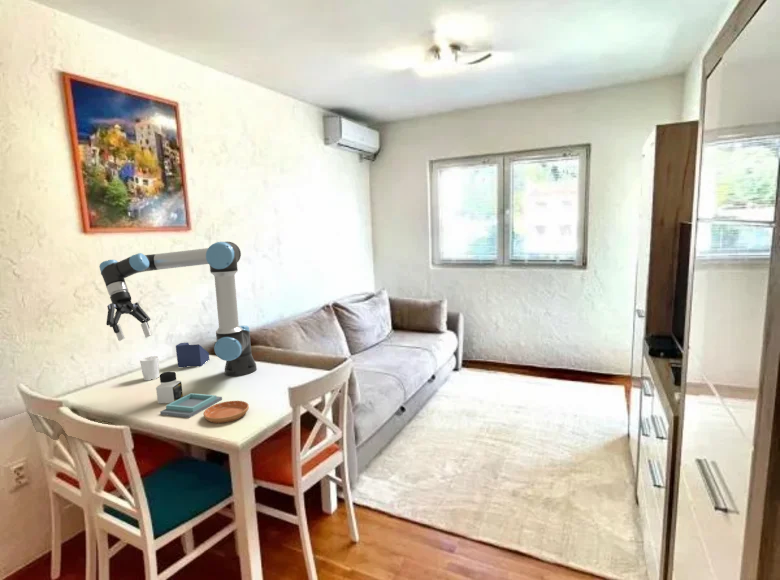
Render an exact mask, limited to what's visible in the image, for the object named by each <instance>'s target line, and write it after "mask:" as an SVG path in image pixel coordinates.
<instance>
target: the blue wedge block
mask: <svg viewBox="0 0 780 580" xmlns="http://www.w3.org/2000/svg"><path fill="white" fill-rule="evenodd" d="M175 351H176V353H175V354H176V359H177V360H176V361H177V368H178V367H183V368H188V367H187V366H199V367H202V366H204V365H205V364H206V363H207V362H209V361H210V353H209V352H208V351H207V350H206V349H205V348H204V347H203V346H202V345H200V344H190V343H189V342H179V343H177V344H176V345H175ZM208 360H209V361H208ZM206 361H207V362H206ZM205 362H206V363H205ZM204 363H205V364H204ZM203 364H204V365H203Z"/></svg>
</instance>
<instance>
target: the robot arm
mask: <svg viewBox="0 0 780 580" xmlns="http://www.w3.org/2000/svg"><path fill="white" fill-rule="evenodd" d="M241 257H242V252H241V249H240V248H239V246H238V245H237V244H236V243H234V242H233V241H216V242H214V243H212V244H211V245H209V247H207V248H206V247H205V248H198V249H197V248H196V249H188V250H181V251H170V252H164V253H156V254H143V253H141V252H138V253H135V254H133V255H130V256H128V257H127V258H126V257H125V258H124V259H122V260H119V261H118V260H116V259H108V260H104V261H102V262H101V263H100V264H99V270H100V275H101V277H102V279H103V282H104V284H105V288H106V289H107V293H108V295H109V296H110V297H109V299H110V301H111V303H109V304H108V305H107V317H106V323H105V324H106V326H109V327H110V328H112V329H113V330H112V331H113V333H114V334H116V337H117V340H118V341H119V342H121V341H122V340H124V339H125V335H124V332H123V329H122V327H121V325H120V323H119V321H120V319H121V317H122V315H124V314H127V315H131V316H132V317H133V318H135V319H136V320H137V321H139V322H140V323H141V324H140V327H141V329H142V331H143V334H144V337H145V338H149V337H151V336H152V333H151V331H150V326H149V323H148V322H149V321H151V317H149V315H148V313H146V311H145V310H144V309H143V308H142V307H141V305H140V303H139V302H137V301H136V302H135V303H133V302H132V296H131V294H130V292H129V288H128V285H127V283H126V281H125V280H126V278H129V277H131V276H133V275H136V274H138V273H144V272H151V271H158V270H166V269H167V270H168V269H176V268H177V269H178V268H184V267H194V266H201V265H203V266H204V265H209V271H210V272H209V273H210V274H212V275H213V277H214V285H215V287H214V288H215V298H216V307H217V308H216V309H217V320H218V321H217V322H218V328H217V330H216V331H215V335H216V336H215V337H216V340H215V341H216V342H215V344H214V346H213V349H214V353H215V355H216V356H217V357H218V358H219V359H220V360H222V361H225V366H224V374H225V375H226V376H231V377H233V376H234V377H237V376H245V375H248V374H251V373H254V372H255V371H257V369H258V368H257V363H256V361H255V359H254V356H253V355H252V345H251V344H252V343H251V331H250V327H249V326H248V325H240V324H239V313H238V302H237V301H238V300H237V289H236V278H235V275H236V273H238V269H239V268H238V263H239V261H240V260H241ZM115 310H116V311H115Z"/></svg>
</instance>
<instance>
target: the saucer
mask: <svg viewBox="0 0 780 580" xmlns="http://www.w3.org/2000/svg"><path fill="white" fill-rule="evenodd" d="M248 410H249V404H248V402H246V401H243V400H228V401H222V402H219V403H215V404H213V405H212V406H210V407H208V408H206V409H204V410H203V413H202V414H203V417H204V419H205V420H207V421H208V422H210V423H213V424H226V423H231V422H234V421H237V420H238V419H241V418H243V416H245V414H246V413H248Z"/></svg>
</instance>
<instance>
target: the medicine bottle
mask: <svg viewBox="0 0 780 580" xmlns="http://www.w3.org/2000/svg"><path fill="white" fill-rule="evenodd" d="M159 383H160V384H159V385H157V386H156V387H155V391H156V397H157V404H170V403H172V402H174V401H176V400H178V399H180V398H182V397H184V395H183V394H184V393H183V387H182V381H181V380H177V374H176V371H173V370H171V371H170V370H169V371H165V372H162V373H159Z"/></svg>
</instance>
